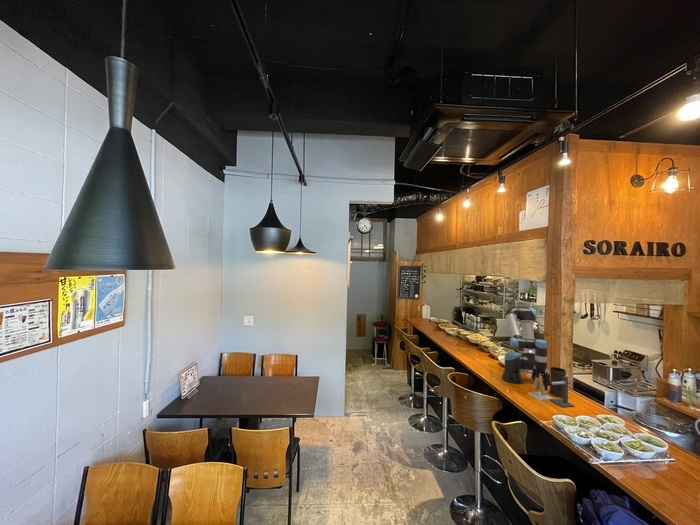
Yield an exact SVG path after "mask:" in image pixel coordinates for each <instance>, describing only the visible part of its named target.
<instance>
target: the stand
mask: <svg viewBox="0 0 700 525" xmlns="http://www.w3.org/2000/svg"><path fill="white" fill-rule="evenodd" d="M551 383H552V385H557V384H563V398H553V399H550V401H549V402H551V403H552V404H554V405H557V406H558V407H560V408H562V409H563V408H574V407H575V404H573V403H571V402H569V377H568V376H567V375H566V376H563V381H560V382H551Z"/></svg>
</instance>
